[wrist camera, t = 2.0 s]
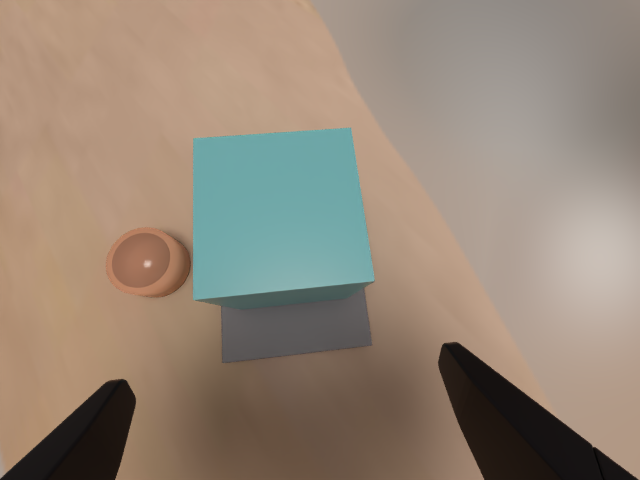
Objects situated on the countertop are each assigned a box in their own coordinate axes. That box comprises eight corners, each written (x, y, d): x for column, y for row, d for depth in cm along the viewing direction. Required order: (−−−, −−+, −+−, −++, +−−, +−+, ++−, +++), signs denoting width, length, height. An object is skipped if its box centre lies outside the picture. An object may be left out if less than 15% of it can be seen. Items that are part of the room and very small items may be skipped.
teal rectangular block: (347, 298, 21) (374, 281, 13) (240, 309, 21) (193, 300, 12) (334, 200, 23) (351, 127, 14) (236, 209, 23) (193, 138, 14)
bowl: (190, 293, 21) (175, 290, 19) (125, 300, 21) (102, 297, 19) (190, 234, 23) (176, 224, 20) (129, 240, 22) (107, 230, 20)
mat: (371, 344, 21) (372, 345, 20) (224, 362, 20) (222, 363, 20) (348, 186, 24) (348, 184, 24) (220, 196, 23) (218, 194, 23)
